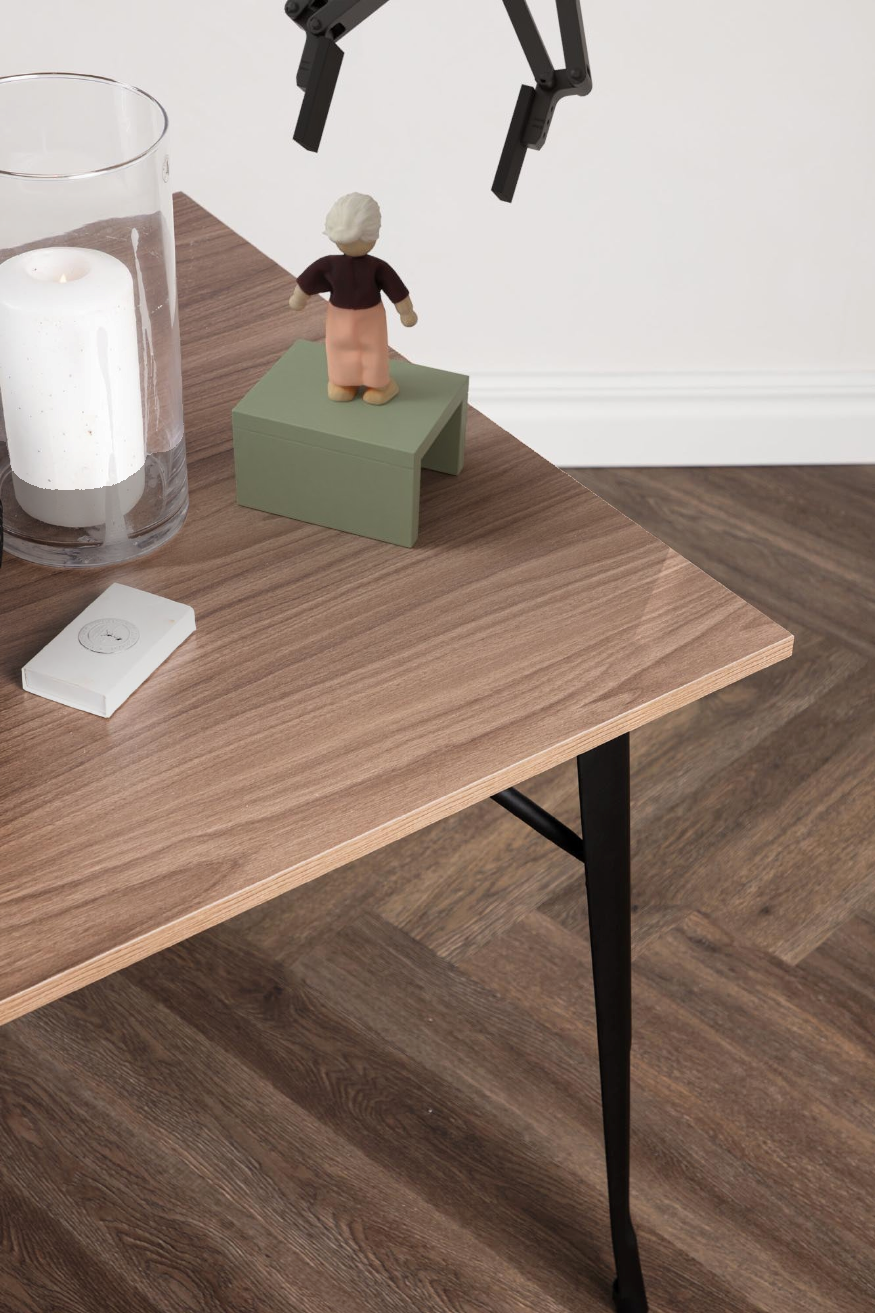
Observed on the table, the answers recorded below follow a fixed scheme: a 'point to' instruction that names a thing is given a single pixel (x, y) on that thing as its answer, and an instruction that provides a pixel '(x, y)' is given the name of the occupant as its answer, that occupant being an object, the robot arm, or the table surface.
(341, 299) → the grandmother figurine
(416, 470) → the shelf
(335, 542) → the table surface
